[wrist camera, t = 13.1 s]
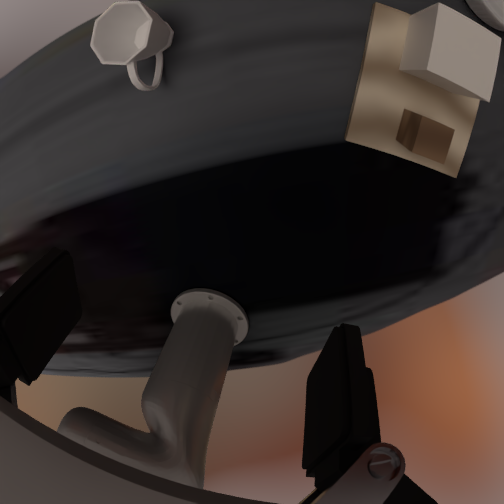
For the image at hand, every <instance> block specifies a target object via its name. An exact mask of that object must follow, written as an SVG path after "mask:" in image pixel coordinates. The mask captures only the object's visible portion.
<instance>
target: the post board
mask: <svg viewBox="0 0 504 504" xmlns="http://www.w3.org/2000/svg"><path fill="white" fill-rule="evenodd" d="M410 16H411V15H410V14H408V13H405V12H403V11H400V10H397V9H395V8H392V7H389V6H386V5H383V4H380V3H377V2H375V3H374V4H373V7H372V12H371V18H370V23H369V29H368V34H367V39H366V44H365V49H364V54H363V59H362V63H361V68H360V73H359V77H358V82H357V86H356V91H355V95H354V99H353V104H352V108H351V112H350V116H349V120H348V124H347V128H346V132H345V136H344V138H345V140H346V141H350V142H353V143H357V144H360V145H364V146H367V147H370V148H374V149H377V150H380V151H383V152H386V153H389V154H392V155H395V156H398V157H401V158H404V159H407V160H410V161H413V162H416V163H418V164H421V165H424V166H427V167H429V168H432V169H435V170H437V171H440V172H442V173H445V174H447V175H450V176H452V177H455V178H456V177H457V174H458V171H459V168H460V166H461V163H462V160H463V157H464V154H465V151H466V148H467V144H468V141H469V138H470V135H471V131H472V128H473V124H474V121H475V117H476V113H477V109H478V105H479V101H480V99H476V98H472V97H467V96H463V95H459V94H454V93H451V92H449V91H447V90H445V89H443V88H441V87H438V86H436V85H434V84H432V83H430V82H427V81H425V80H423V79H420V78H418V77H416V76H413V75H411V74H408V73H406V72H403V71H401V70H399V67H400V63H401V58H402V54H403V49H404V44H405V39H406V34H407V29H408V23H409V17H410Z"/></svg>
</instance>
